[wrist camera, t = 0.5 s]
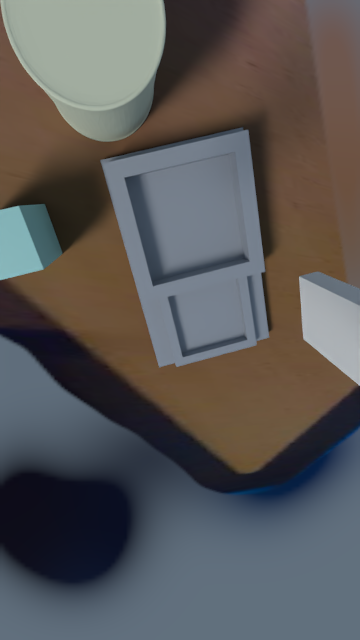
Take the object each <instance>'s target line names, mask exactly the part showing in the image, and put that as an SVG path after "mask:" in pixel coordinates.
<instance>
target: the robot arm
mask: <svg viewBox="0 0 360 640" xmlns="http://www.w3.org/2000/svg"><path fill="white" fill-rule="evenodd" d="M299 282H300V296H301V311H302V326H303V339H304V340H305V341H307V342H308V343H309V344H310V345H311V346H313V347H314V348H315V349H316V350H317V351H319V352H320V353H321V354H322V355H323V356H325V357H326V358H327V359H328V360H329V361H331V362H332V363H333V364H334V365H336V366H337V367H338V368H339V369H340V370H342V371H343V372H344V373H345V374H346V375H348V376H349V377H350V378H351V379H352V380H354V381H355V382H356V383H357V384H358V385H360V289H359V288H356V287H354V286H352V285H349V284H347V283H344V282H342V281H339V280H337V279H335V278H332V277H330V276H327V275H325V274H322V273H320V272H314V273H310V274H307V275H303V276H299Z"/></svg>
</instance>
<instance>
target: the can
mask: <svg viewBox="0 0 360 640" xmlns="http://www.w3.org/2000/svg"><path fill="white" fill-rule="evenodd" d="M1 9H2V16H3V21H4V25H5V28H6V32H7V35H8V37H9V40H10V43H11V45H12V47H13V49H14V51H15V53H16V55H17V57H18V59H19V61H20V62H21V64H22V65H23V67H24V68H25V70H26V71H27V72H28V74H29V75H30V76H31V77H32V79H33V80H34V81H35V82H36V83H37V84H38V85H39V86H40V87H41V88H42V89H43V90H44V91H45V92H46V93H47V94H48V95H49V97H50V98H51V99H52V100H53V102H54V103H55V105H56V106H57V108H58V110H59V112H60V113H61V115H62V116H63V118H64V119H65V120H66V121H67V122H68V123H69V124H70V125H71V126H72V127H73V128H74V129H75V130H76V131H78V132H79V133H81V134H82V135H84V136H86V137H88V138H91V139H94V140H98V141H104V142H111V141H117V140H121V139H124V138H126V137H128V136H130V135H131V134H133V133H134V132H135V131H136V130H137V129H138V128H139V127H140V126H141V125H142V124H143V122H144V121H145V119H146V117H147V116H148V114H149V111H150V109H151V105H152V101H153V95H154V82H155V77H156V72H157V68H158V66H159V64H160V61H161V58H162V54H163V50H164V44H165V36H166V15H165V6H164V1H163V0H1Z"/></svg>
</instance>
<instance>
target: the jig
mask: <svg viewBox="0 0 360 640" xmlns="http://www.w3.org/2000/svg"><path fill="white" fill-rule="evenodd" d="M100 161H101V164H102V168H103V171H104V175H105V178H106V182H107V185H108V189H109V192H110V196H111V199H112V203H113V206H114V210H115V213H116V217H117V220H118V224H119V227H120V231H121V234H122V238H123V241H124V245H125V248H126V252H127V255H128V259H129V263H130V266H131V270H132V273H133V277H134V280H135V284H136V287H137V291H138V294H139V298H140V301H141V305H142V308H143V312H144V315H145V319H146V322H147V326H148V329H149V333H150V336H151V340H152V343H153V347H154V350H155V354H156V357H157V361H158V364H159V367H162V366H165V365H169V364H173V363H175V364H176V367H178V366H181V365H185V364H189V363H192V362H196V361H200V360H204V359H207V358H211V357H215V356H218V355H222V354H226V353H229V352H233V351H237V350H240V349H244V348H248V347H251V346H255V345H257V344H256V341H258V340H262V339H265V338H269V333H268V325H267V317H266V309H265V301H264V293H263V285H262V277H261V273H262V272H265V266H264V258H263V249H262V241H261V233H260V224H259V216H258V207H257V199H256V191H255V182H254V174H253V165H252V157H251V149H250V140H249V132H248V130H244V131H243V127H242V128H238V129H233V130H229V131H225V132H220V133H216V134H212V135H208V136H203V137H199V138H195V139H190V140H186V141H182V142H177V143H173V144H169V145H164V146H160V147H156V148H151V149H147V150H143V151H138V152H134V153H130V154H125V155H121V156H117V157H112V158H108V159H104V160H100Z"/></svg>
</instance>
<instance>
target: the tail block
mask: <svg viewBox="0 0 360 640" xmlns="http://www.w3.org/2000/svg"><path fill="white" fill-rule="evenodd" d="M62 254H63V253H62V250H61V247H60V245H59V242H58V239H57V236H56V234H55V231H54V228H53V225H52V223H51V220H50V217H49V214H48V212H47V209H46V206H45V204H37V205H22V206H15V207H11V208H7V209H3V210H0V280H2V279H6V278H11V277H15V276H19V275H23V274H27V273H31V272H35V271H39V270H43V269H45V268H46V267H47V266H48V265H49V264H51V263H52V262H53V261H54V260H55V259H57V258H58V257H59V256H60V255H62Z"/></svg>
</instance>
